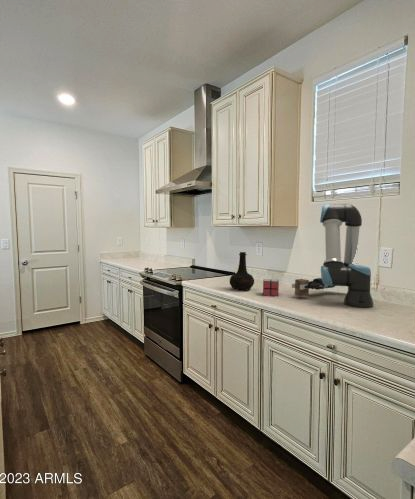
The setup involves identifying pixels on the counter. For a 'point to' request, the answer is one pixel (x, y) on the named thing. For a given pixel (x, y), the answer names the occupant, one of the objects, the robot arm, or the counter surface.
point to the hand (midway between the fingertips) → (296, 286)
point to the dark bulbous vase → (242, 276)
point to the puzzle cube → (270, 287)
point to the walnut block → (297, 287)
